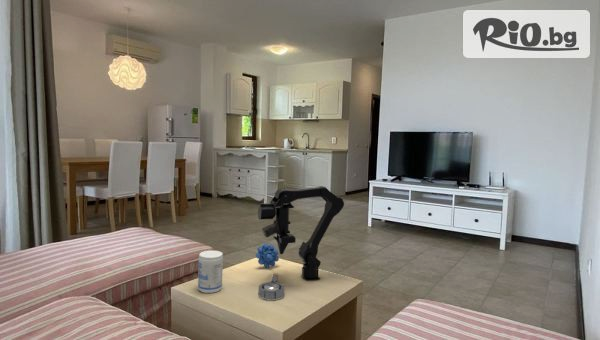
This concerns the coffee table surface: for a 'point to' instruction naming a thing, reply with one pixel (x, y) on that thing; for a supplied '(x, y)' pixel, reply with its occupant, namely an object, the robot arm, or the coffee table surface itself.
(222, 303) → the coffee table surface
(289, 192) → the robot arm
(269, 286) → the grey metal bowl
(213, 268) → the supplement tub
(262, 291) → the grey octagonal frying pan
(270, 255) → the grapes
